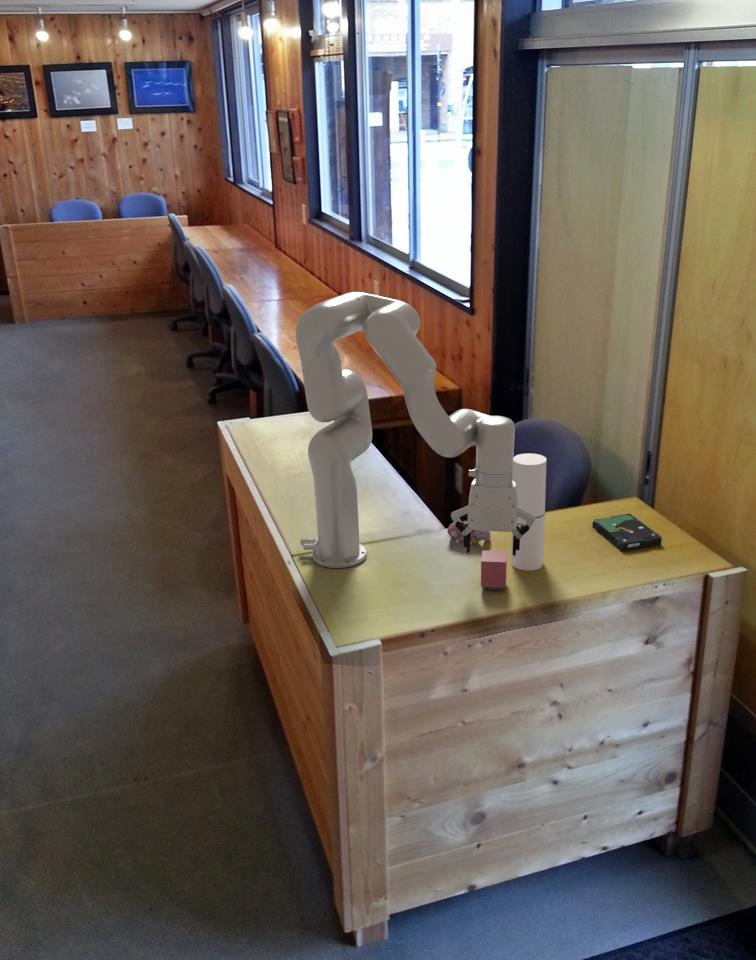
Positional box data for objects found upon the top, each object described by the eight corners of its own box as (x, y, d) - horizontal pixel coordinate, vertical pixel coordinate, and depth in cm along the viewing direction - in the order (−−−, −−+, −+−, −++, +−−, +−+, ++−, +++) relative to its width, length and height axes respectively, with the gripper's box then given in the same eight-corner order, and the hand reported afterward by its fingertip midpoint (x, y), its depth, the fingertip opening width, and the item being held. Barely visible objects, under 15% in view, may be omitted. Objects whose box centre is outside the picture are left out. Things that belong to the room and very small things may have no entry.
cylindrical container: (542, 571, 205) (545, 465, 196) (510, 569, 207) (511, 464, 198) (543, 557, 212) (547, 453, 203) (512, 555, 213) (514, 452, 204)
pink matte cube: (480, 586, 197) (481, 561, 195) (482, 575, 202) (482, 550, 199) (505, 587, 196) (506, 562, 194) (506, 576, 201) (506, 551, 199)
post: (487, 589, 198) (487, 560, 196) (488, 584, 201) (488, 555, 198) (499, 590, 198) (500, 560, 195) (500, 584, 200) (500, 555, 198)
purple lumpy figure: (448, 546, 222) (444, 528, 217) (452, 531, 225) (448, 513, 220) (488, 551, 219) (485, 532, 214) (492, 536, 222) (489, 517, 217)
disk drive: (662, 547, 215) (628, 522, 229) (663, 537, 214) (629, 512, 228) (622, 554, 213) (590, 528, 226) (622, 543, 212) (591, 518, 225)
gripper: (450, 481, 188) (448, 557, 194) (537, 485, 185) (532, 562, 192) (453, 467, 195) (451, 541, 201) (536, 471, 192) (532, 546, 199)
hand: (491, 551), depth 196 cm, fingers open, 9 cm apart
